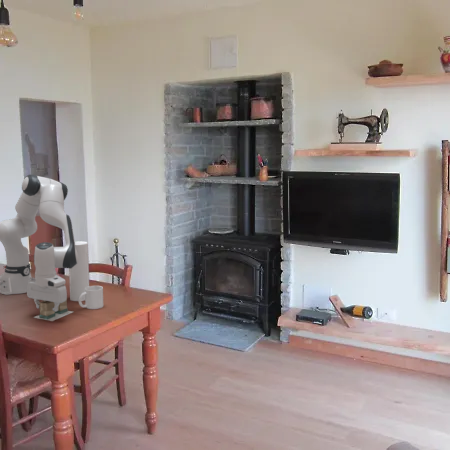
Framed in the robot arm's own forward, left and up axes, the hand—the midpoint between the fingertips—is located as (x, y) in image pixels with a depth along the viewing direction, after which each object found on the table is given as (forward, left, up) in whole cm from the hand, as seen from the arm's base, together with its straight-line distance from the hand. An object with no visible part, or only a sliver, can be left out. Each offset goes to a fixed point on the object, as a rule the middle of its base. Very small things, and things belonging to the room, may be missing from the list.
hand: (47, 309), depth 232 cm
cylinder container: (-6, +29, -5) cm, 30 cm away
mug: (+8, +20, -5) cm, 22 cm away
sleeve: (0, 0, -4) cm, 4 cm away
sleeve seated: (0, +8, -4) cm, 9 cm away
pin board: (0, +4, -5) cm, 6 cm away
